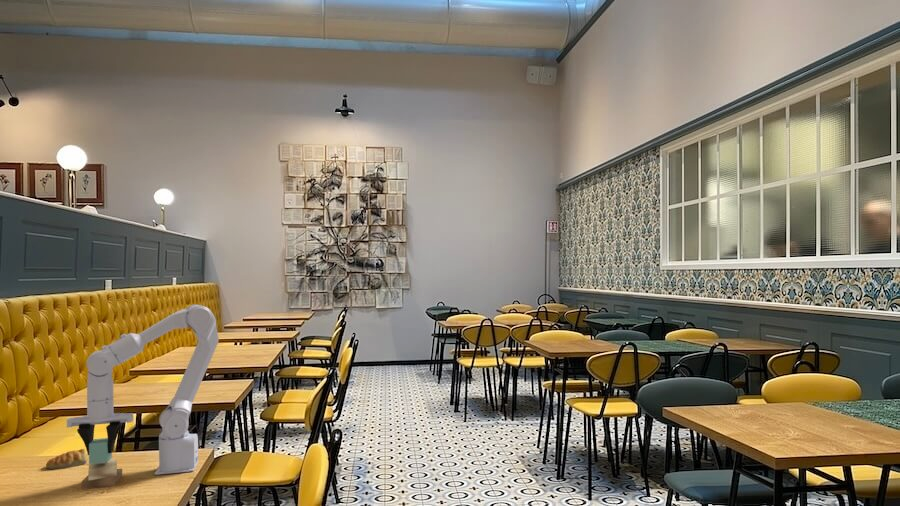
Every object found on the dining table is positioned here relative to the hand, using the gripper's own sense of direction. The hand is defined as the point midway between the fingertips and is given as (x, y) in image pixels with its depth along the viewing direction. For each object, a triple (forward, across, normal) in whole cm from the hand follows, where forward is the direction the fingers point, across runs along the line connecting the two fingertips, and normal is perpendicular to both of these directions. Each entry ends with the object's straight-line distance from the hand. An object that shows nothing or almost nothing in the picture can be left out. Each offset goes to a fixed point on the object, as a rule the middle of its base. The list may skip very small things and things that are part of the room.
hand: (100, 452), depth 146 cm
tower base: (+8, 0, 0) cm, 8 cm away
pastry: (+8, +13, -18) cm, 24 cm away
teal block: (+2, 0, 0) cm, 2 cm away
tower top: (+6, 0, 0) cm, 6 cm away
